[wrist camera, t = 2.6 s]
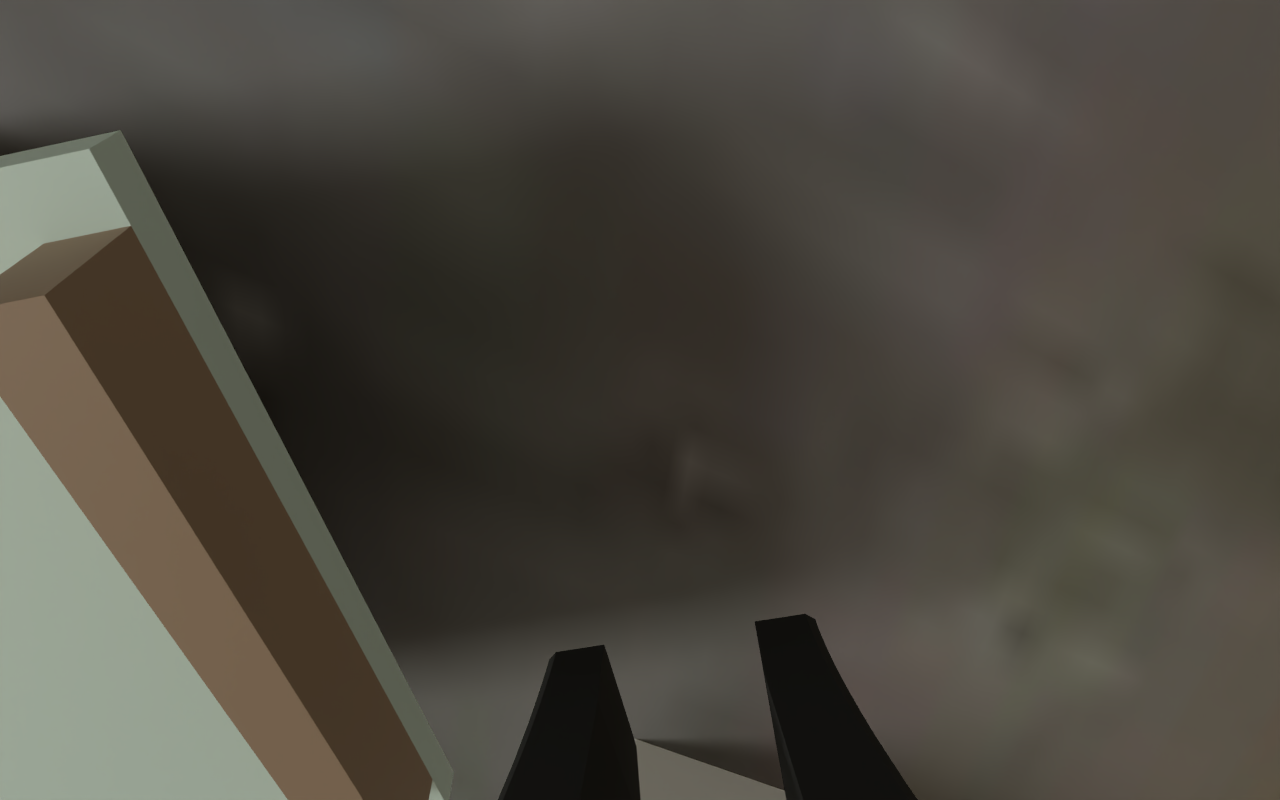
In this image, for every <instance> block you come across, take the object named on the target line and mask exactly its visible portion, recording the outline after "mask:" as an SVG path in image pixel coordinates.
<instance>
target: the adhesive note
mask: <svg viewBox="0 0 1280 800" xmlns="http://www.w3.org/2000/svg"><path fill="white" fill-rule="evenodd" d="M634 740H635V743H636V746H637V759H638V772H639V785H640V799H641V800H786V795H785V791H784V790H781V789H778V788H776V787H773V786H770V785H767V784H764V783H761V782H758V781H755V780H752V779H750V778H747V777H744V776H741V775H738V774H735V773H732V772H729V771H726V770H724V769H721V768H718V767H715V766H712V765H709V764H706V763H703V762H700V761H698V760H695V759H692V758H689V757H686V756H683V755H680V754H677V753H674V752H672V751H669V750H666V749H663V748H660V747H657V746H654V745H651V744H649V743H646V742H643V741H640V740H637V739H634Z"/></svg>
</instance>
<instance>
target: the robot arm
mask: <svg viewBox="0 0 1280 800" xmlns="http://www.w3.org/2000/svg"><path fill="white" fill-rule="evenodd" d="M755 625H756V631H757V637H758V643H759V648H760V654H761V660H762V665H763V671H764V677H765V683H766V688H767V694H768V700H769V705H770V711H771V717H772V723H773V728H774V734H775V739H776V745H777V751H778V756H779V762H780V767H781V773H782V779H783V784H784V790H785V795H786V800H917V798H916V797H915V795H914V794H913V793H912V791H911V790H910V788H909V787H908V785H907V784H906V782H905V781H904V779H903V778H902V776H901V775H900V773H899V772H898V770H897V769H896V767H895V765H894V764H893V762H892V761H891V759H890V758H889V756H888V755H887V753H886V752H885V750H884V749H883V747H882V745H881V744H880V742H879V741H878V739H877V738H876V736H875V735H874V733H873V731H872V730H871V728H870V727H869V725H868V723H867V722H866V720H865V718H864V717H863V715H862V713H861V712H860V710H859V708H858V706H857V705H856V703H855V701H854V699H853V698H852V696H851V694H850V692H849V690H848V689H847V687H846V685H845V683H844V682H843V680H842V678H841V676H840V674H839V672H838V670H837V668H836V666H835V664H834V662H833V660H832V658H831V656H830V654H829V652H828V650H827V647H826V645H825V643H824V641H823V639H822V636H821V634H820V631H819V629H818V626H817V623H816V620H815V619H813V618H812V617H810V616H808V615H806V614H801V615H795V616H788V617H782V618H775V619H769V620H762V621H756V622H755ZM498 800H641V799H640V785H639V772H638V759H637V746H636V743H635V740H634V737H633V734H632V731H631V728H630V724H629V721H628V718H627V715H626V712H625V709H624V706H623V702H622V699H621V696H620V693H619V690H618V687H617V684H616V680H615V677H614V674H613V671H612V668H611V665H610V662H609V658H608V655H607V652H606V649H605V646H604V645H600V646H593V647H587V648H580V649H574V650H567V651H561V652H556V653H555V654H554V655H553V656H552V657H551V659H550V660H549V663H548V666H547V669H546V673H545V676H544V679H543V682H542V685H541V688H540V691H539V694H538V697H537V700H536V703H535V706H534V709H533V712H532V715H531V718H530V720H529V723H528V726H527V729H526V731H525V734H524V737H523V739H522V742H521V744H520V747H519V750H518V752H517V755H516V758H515V760H514V763H513V765H512V768H511V770H510V772H509V775H508V777H507V779H506V782H505V784H504V787H503V789H502V791H501V794H500V796H499V799H498Z"/></svg>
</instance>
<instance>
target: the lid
mask: <svg viewBox="0 0 1280 800" xmlns="http://www.w3.org/2000/svg"><path fill="white" fill-rule="evenodd" d="M453 775H454V772H453V770H452V768H451V766H450V764H449V762H448V760H447V758H446V756H445V754H444V753H443V751H442V749H441V747H440V745H439V743H438V741H437V739H436V737H435V735H434V733H433V731H432V729H431V728H430V726H429V724H428V722H427V720H426V718H425V716H424V714H423V712H422V710H421V708H420V706H419V704H418V702H417V701H416V699H415V697H414V695H413V693H412V691H411V689H410V687H409V685H408V683H407V681H406V679H405V677H404V675H403V674H402V672H401V670H400V668H399V666H398V664H397V662H396V660H395V658H394V656H393V654H392V652H391V650H390V648H389V647H388V645H387V643H386V641H385V639H384V637H383V635H382V633H381V631H380V629H379V627H378V625H377V623H376V621H375V620H374V618H373V616H372V614H371V612H370V610H369V608H368V606H367V604H366V602H365V600H364V598H363V596H362V594H361V593H360V591H359V589H358V587H357V585H356V583H355V581H354V579H353V577H352V575H351V573H350V571H349V569H348V567H347V566H346V564H345V562H344V560H343V558H342V556H341V554H340V552H339V550H338V548H337V546H336V544H335V542H334V541H333V539H332V537H331V535H330V533H329V531H328V529H327V527H326V525H325V523H324V521H323V519H322V517H321V515H320V514H319V512H318V510H317V508H316V506H315V504H314V502H313V500H312V498H311V496H310V494H309V492H308V490H307V488H306V487H305V485H304V483H303V481H302V479H301V477H300V475H299V473H298V471H297V469H296V467H295V465H294V463H293V461H292V460H291V458H290V456H289V454H288V452H287V450H286V448H285V446H284V444H283V442H282V440H281V438H280V436H279V434H278V433H277V431H276V429H275V427H274V425H273V423H272V421H271V419H270V417H269V415H268V413H267V411H266V409H265V407H264V406H263V404H262V402H261V400H260V398H259V396H258V394H257V392H256V390H255V388H254V386H253V384H252V382H251V380H250V379H249V377H248V375H247V373H246V371H245V369H244V367H243V365H242V363H241V361H240V359H239V357H238V355H237V354H236V352H235V350H234V348H233V346H232V344H231V342H230V340H229V338H228V336H227V334H226V332H225V330H224V328H223V327H222V325H221V323H220V321H219V319H218V317H217V315H216V313H215V311H214V309H213V307H212V305H211V303H210V301H209V300H208V298H207V296H206V294H205V292H204V290H203V288H202V286H201V284H200V282H199V280H198V278H197V276H196V274H195V273H194V271H193V269H192V267H191V265H190V263H189V261H188V259H187V257H186V255H185V253H184V251H183V249H182V247H181V246H180V244H179V242H178V240H177V238H176V236H175V234H174V232H173V230H172V228H171V226H170V224H169V222H168V220H167V219H166V217H165V215H164V213H163V211H162V209H161V207H160V205H159V203H158V201H157V199H156V197H155V195H154V193H153V192H152V190H151V188H150V186H149V184H148V182H147V180H146V178H145V176H144V174H143V172H142V170H141V168H140V167H139V165H138V163H137V161H136V159H135V157H134V155H133V153H132V151H131V149H130V147H129V145H128V143H127V141H126V140H125V138H124V136H123V134H122V132H121V130H119V131H115V132H110V133H105V134H101V135H96V136H91V137H87V138H82V139H77V140H73V141H68V142H63V143H59V144H54V145H49V146H45V147H40V148H35V149H31V150H26V151H21V152H17V153H12V154H7V155H3V156H0V800H449V799H450V793H451V787H452V781H453Z"/></svg>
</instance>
